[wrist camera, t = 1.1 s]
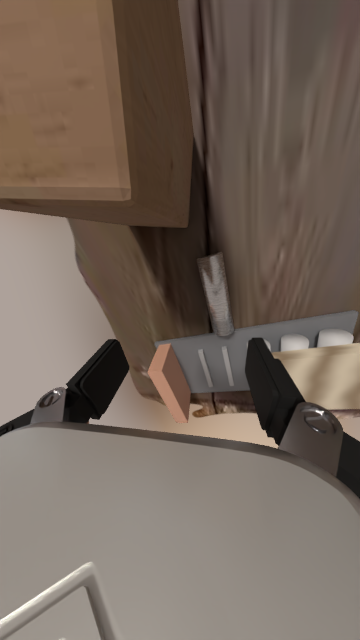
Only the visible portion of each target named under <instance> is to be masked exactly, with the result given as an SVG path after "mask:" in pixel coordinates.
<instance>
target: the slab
mask: <svg viewBox="0 0 360 640" xmlns="http://www.w3.org/2000/svg"><path fill="white" fill-rule="evenodd" d="M272 355H273V357H274V358H278V359H280V361H281V362H282V364H283V365H284V367H285V368H286V370H287V372H288V373H289V375H290V377H291V378H292V380H293V381H294V383H295V385H296V386H297V388H298V389H299V391H300V393H301V394H302V396H303V398H304V399H305V401H306V402H311V403H315V404H317V405H320V406H322V407H323V408H325V409H360V343H354V344H345V345H336V346H327V347H318V348H309V349H299V350H290V351H281V352H272Z"/></svg>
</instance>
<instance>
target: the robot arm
mask: <svg viewBox="0 0 360 640" xmlns="http://www.w3.org/2000/svg"><path fill="white" fill-rule="evenodd" d="M128 371H129V365H128V362H127V360H126V357H125V355H124V352H123V350H122V347H121V345H120V342H119V341H117V340H116V339H109V340H107V341H106V342H105V343H104V344H103V345H102V346H101V348H100V349H99V350H98V351H97V352H96V353H95V354H94V355H93V356H92V357H91V358H90V359H89V360H88V362H86V364H85V365H84V366H83V367H82V368H81V369H80V370H79V371H78V372H77V373H76V374H75V375H74V376H73V377H72V378H71V379H70V381H69V382H68V383H67V384H66V385H67V386H68V388H67V389H65V388H63V387H59V388H55V389H53V390H51V391H49V392H48V393H46V394H45V395H44V396H43V397H42V398H40V400H39V401H38V402H37V404H36V406H35V409H33V410H31V411H29V412H27V413H25V414H23V415H21V416H19V417H17V418H16V419H14V420H12V421H10V422H8V423H6V424H4V425H2V426H1V427H0V640H360V442H359V441H358V440H356V439H355V438H353V437H351V436H349V435H348V434H347V433H345V432H343V428H342V426H341V424H340V422H339V421H338V419H337V418H336V417H335V416H334V415H333V414H332V413H331V412H329V411H328V410H327V409H325V408H323V407H322V406H320V405H317V404H315V403H311V402H306V401H305V399H304V398H303V396H302V394H301V393H300V391H299V389H298V388H297V386H296V385H295V383H294V381H293V380H292V378H291V377H290V375H289V373H288V372H287V370H286V368H285V367H284V365H283V364H282V362H281V361H280V359H278V358H274V357H273V355H272V353H271V352H270V350H269V348H268V346H267V345H266V343H265V341H264V339H263V338H262V337H257V338H252V339H251V340H249V341H248V348H247V356H246V364H245V375H246V378H247V381H248V385H249V388H250V391H251V395H252V398H253V401H254V405H255V408H256V411H257V415H258V418H259V421H260V425H261V428H262V429H263V430H266V433H267V436H268V437H272V438H274V440H275V443H276V444H277V445H278V446H279V447H278V449H276V448H273V447H269V446H264V445H258V444H253V443H248V442H240V441H233V440H226V439H218V438H210V437H201V436H193V435H184V434H176V433H167V432H158V431H149V430H140V429H131V428H122V427H112V426H104V425H93V424H89V419H90V418H92V419H98V420H99V419H100V417H101V416H102V414H104V413H105V411H106V410H107V408H108V406H109V404H110V403H111V401H112V399H113V397H114V396H115V394H116V392H117V390H118V389H119V387H120V385H121V383H122V382H123V380H124V378H125V376H126V374H127V373H128Z"/></svg>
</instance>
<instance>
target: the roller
mask: <svg viewBox="0 0 360 640" xmlns="http://www.w3.org/2000/svg"><path fill="white" fill-rule="evenodd" d="M196 261H197V265H198V269H199V273H200V278H201V282H202V286H203V290H204V294H205V299H206V303H207V307H208V311H209V315H210V320H211V324H212V328H213V332H214V334H215V335H218V336H227V335H229V334H231V333H233V331H234V324H233V318H232V311H231V305H230V299H229V292H228V286H227V280H226V273H225V267H224V261H223V254H222V252H217V253H213V254H210V255H206V256H203V257H201V258H199V259H197V260H196Z"/></svg>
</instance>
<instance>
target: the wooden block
mask: <svg viewBox="0 0 360 640" xmlns="http://www.w3.org/2000/svg"><path fill="white" fill-rule="evenodd" d="M193 136H194V133H193V125H192V116H191V108H190V100H189V91H188V83H187V75H186V66H185V58H184V49H183V41H182V33H181V24H180V16H179V8H178V0H0V209H5V210H13V211H20V212H28V213H36V214H44V215H51V216H59V217H66V218H74V219H82V220H90V221H97V222H105V223H113V224H120V225H128V226H150V227H174V228H186V227H187V226H188V222H189V205H190V188H191V171H192V153H193Z"/></svg>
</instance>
